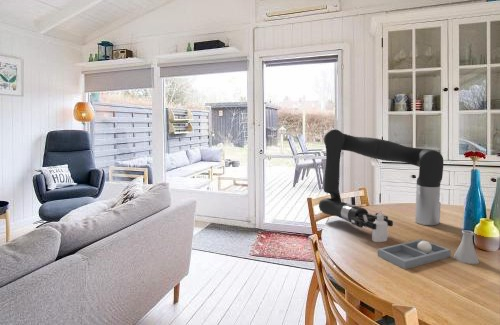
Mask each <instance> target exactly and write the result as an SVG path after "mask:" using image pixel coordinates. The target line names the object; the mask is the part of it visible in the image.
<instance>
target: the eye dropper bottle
mask: <svg viewBox="0 0 500 325" xmlns="http://www.w3.org/2000/svg"><path fill="white" fill-rule="evenodd" d="M373 223H375V224H376V229H375V230H373V229H371V230H372V232H371V241H373V242H374V243H382V242H386V241H388V232H389V231H388V227H389V226H388V224H387V222H386V221H384V214H382V210H379V211H378V214H377V220H376V219H375V221H374V222H373Z"/></svg>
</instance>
